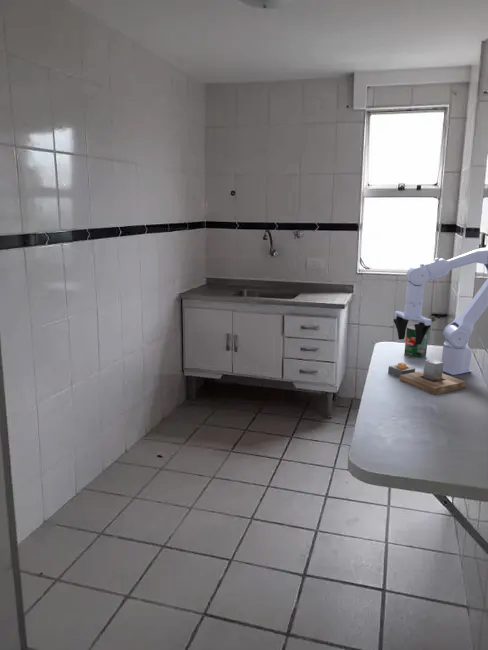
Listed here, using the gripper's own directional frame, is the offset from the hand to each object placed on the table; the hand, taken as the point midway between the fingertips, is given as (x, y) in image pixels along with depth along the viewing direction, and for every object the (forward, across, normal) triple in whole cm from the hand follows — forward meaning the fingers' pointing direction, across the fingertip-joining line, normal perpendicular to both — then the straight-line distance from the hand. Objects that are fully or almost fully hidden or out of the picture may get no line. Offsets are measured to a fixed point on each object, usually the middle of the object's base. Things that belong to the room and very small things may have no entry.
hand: (409, 341), depth 189 cm
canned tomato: (+10, -10, +15) cm, 20 cm away
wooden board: (+9, +16, -6) cm, 20 cm away
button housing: (+9, +4, -8) cm, 13 cm away
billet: (+9, +16, -6) cm, 19 cm away
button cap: (+8, +4, -7) cm, 12 cm away
